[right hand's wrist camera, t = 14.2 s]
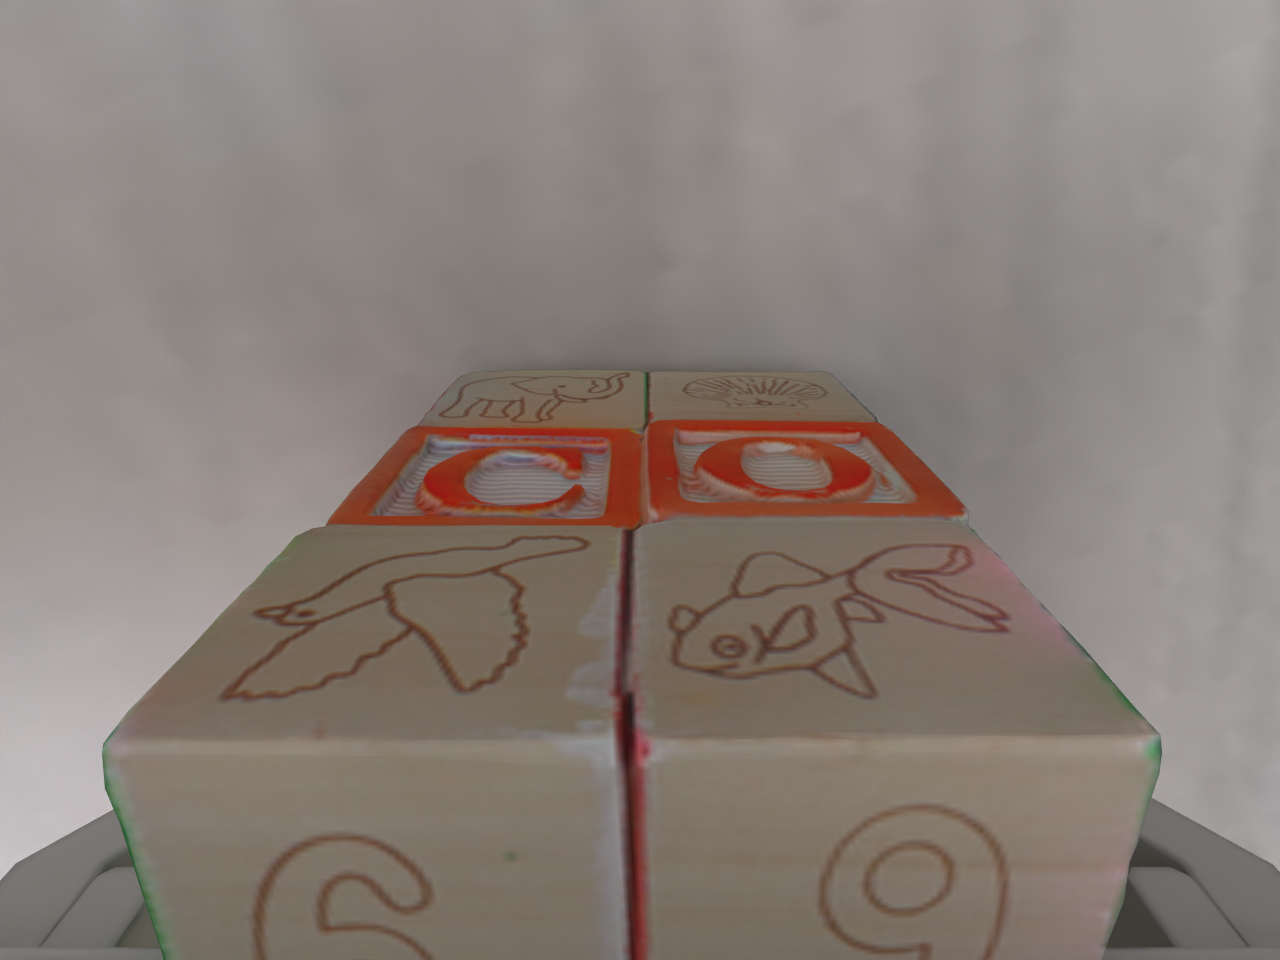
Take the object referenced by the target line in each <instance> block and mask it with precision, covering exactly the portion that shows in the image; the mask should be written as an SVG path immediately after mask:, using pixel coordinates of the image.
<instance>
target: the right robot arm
mask: <svg viewBox="0 0 1280 960" xmlns="http://www.w3.org/2000/svg"><path fill="white" fill-rule="evenodd" d="M0 960H164V959H163V955H162V952H161V948H160V945H159V942H158V939H157V936H156V933H155V930H154V927H153V924H152V921H151V918H150V915H149V912H148V909H147V906H146V903H145V900H144V897H143V894H142V891H141V888H140V885H139V882H138V879H137V876H136V873H135V870H134V866H133V863H132V860H131V857H130V854H129V851H128V848H127V844H126V841H125V838H124V835H123V832H122V829H121V826H120V823H119V820H118V818H117V816H116V813H115V811H114V810H112V811H110V812H108V813H106V814H105V815H103V816H101V817H99V818H97V819H96V820H94V821H92V822H90V823H88V824H87V825H85V826H83V827H81V828H79V829H77V830H76V831H74V832H72V833H70V834H68V835H67V836H65V837H63V838H61V839H59V840H58V841H56V842H54V843H52V844H50V845H49V846H47V847H45V848H43V849H41V850H39V851H38V852H36V853H34V854H32V855H30V856H29V857H27V858H25V859H23V860H21V861H20V862H18V863H16V864H15V865H14V866H13V867H12V868H11V870H10V871H9V872H8V873H7V874H6V875H5V876H4V877H3V878H2V879H1V880H0ZM1102 960H1280V872H1279V871H1278V870H1277V869H1276V868H1275V866H1274V865H1272V864H1271V863H1269V862H1267V861H1265V860H1263V859H1262V858H1260V857H1258V856H1256V855H1254V854H1253V853H1251V852H1249V851H1247V850H1245V849H1243V848H1242V847H1240V846H1238V845H1236V844H1234V843H1233V842H1231V841H1229V840H1227V839H1225V838H1223V837H1222V836H1220V835H1218V834H1216V833H1214V832H1213V831H1211V830H1209V829H1207V828H1205V827H1204V826H1202V825H1200V824H1198V823H1196V822H1194V821H1193V820H1191V819H1189V818H1187V817H1185V816H1184V815H1182V814H1180V813H1178V812H1176V811H1174V810H1173V809H1171V808H1169V807H1167V806H1165V805H1164V804H1162V803H1160V802H1158V801H1156V800H1154V799H1153V798H1151V800H1150V803H1149V806H1148V809H1147V813H1146V816H1145V819H1144V823H1143V826H1142V830H1141V833H1140V836H1139V840H1138V843H1137V846H1136V848H1135V850H1134V853H1133V855H1132V857H1131V859H1130V862H1129V869H1128V876H1127V883H1126V890H1125V897H1124V902H1123V905H1122V907H1121V910H1120V912H1119V915H1118V918H1117V920H1116V923H1115V925H1114V928H1113V930H1112V933H1111V935H1110V938H1109V941H1108V943H1107V946H1106V949H1105V952H1104V955H1103V959H1102Z"/></svg>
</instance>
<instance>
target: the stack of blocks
mask: <svg viewBox="0 0 1280 960" xmlns="http://www.w3.org/2000/svg"><path fill="white" fill-rule="evenodd" d="M968 520H969V511H968V510H967V508H966V507H965V506H964V505H963V503H962V502H961V501H960V500H959V499H958V498H957V497H956V496H955V495H954V494H953V492H952V491H951V490H950V489H949V488H948V487H947V486H946V485H945V484H944V483H943V482H942V481H941V480H940V479H939V478H938V477H937V476H936V475H935V474H934V473H933V472H932V471H931V470H930V469H929V468H928V467H927V466H926V465H925V463H924V462H923V461H922V460H921V459H920V458H919V457H918V456H916V455H915V454H914V453H913V452H912V451H911V450H910V449H909V448H908V447H907V446H906V445H905V444H904V443H903V442H902V441H901V440H900V439H899V438H898V437H897V436H896V435H895V434H894V433H893V432H892V431H891V430H890V429H889V428H887V427H885V426H883V425H882V424H880V423H878V421H877V418H876V417H875V416H874V415H873V414H872V413H871V412H870V411H869V410H868V409H867V408H866V407H864V406H863V405H862V404H861V403H860V402H859V401H858V400H857V399H856V398H855V396H854V395H853V394H852V393H850V392H849V391H848V390H847V389H846V388H845V387H844V386H843V385H842V384H841V383H840V382H839V381H838V380H837V379H836V378H835V377H834V376H833V375H832V374H830V373H827V372H824V371H822V372H652V373H647V372H641V371H629V370H515V371H493V372H477V373H468V374H466V375H463V376H461V377H459V378H458V379H457V380H456V381H455V382H454V383H453V384H452V385H451V386H450V387H449V388H448V389H447V390H446V391H445V392H444V394H443V395H442V396H441V397H440V398H439V399H438V400H437V402H436V403H435V404H434V406H433V407H432V408H431V410H430V411H429V412H428V413H427V414H426V415H425V417H424V418H423V420H422V421H421V422H420V423H419V424H418V426H415V427H413V428H411V429H408V430H407V431H406V432H405V433H403V434H402V435H401V436H400V438H399V439H398V440H397V442H396V443H395V444H394V445H393V446H392V447H391V448H390V449H389V450H388V451H387V452H386V453H385V455H384V456H383V457H382V458H381V460H380V461H379V462H378V463H377V464H376V466H375V467H374V468H373V469H372V470H371V471H370V472H369V473H368V474H367V475H366V476H365V477H364V478H363V479H362V480H361V481H360V482H359V483H358V485H357V486H356V487H355V488H354V489H353V490H352V491H351V492H350V494H349V495H348V496H347V497H346V499H345V500H344V501H343V502H342V504H341V505H340V506H339V507H338V509H337V510H336V511H335V512H334V514H333V515H332V516H331V517H330V519H329V521H328V523H327V524H326V526H325V527H319V528H313V529H310V530H308V531H306V532H304V533H302V534H300V535H298V536H296V537H295V538H294V539H293V540H292V541H291V542H290V544H289V545H288V546H287V547H286V548H285V549H284V551H283V552H282V553H281V554H280V555H279V556H278V557H277V558H275V559H274V560H273V561H272V562H271V563H270V564H269V565H268V566H267V567H266V568H265V569H264V571H263V572H262V573H261V574H260V575H259V577H258V578H257V579H256V580H255V581H254V582H253V583H252V584H251V585H250V586H249V587H248V588H246V589H245V590H244V591H243V592H242V593H241V594H240V596H239V597H238V598H237V599H236V600H235V601H234V602H233V603H232V604H231V605H230V606H229V607H228V608H227V609H226V610H225V611H224V612H223V613H222V614H221V615H220V616H219V617H218V618H217V619H216V620H215V621H214V623H213V624H212V625H211V626H210V627H209V628H208V629H207V630H206V631H205V633H204V634H203V635H202V636H201V637H200V638H199V639H198V640H197V641H196V642H195V644H194V645H193V646H192V647H191V648H190V649H189V650H188V651H187V652H186V653H185V654H184V655H183V656H182V657H181V658H180V659H179V660H178V661H177V662H176V663H175V664H174V665H173V666H172V667H171V668H170V669H169V670H168V671H167V672H166V673H165V674H164V675H163V676H162V677H161V678H160V679H159V680H158V681H157V682H156V683H155V685H154V686H153V687H152V688H151V689H150V690H149V691H148V692H147V693H146V694H145V695H144V696H143V697H142V698H141V699H140V700H139V701H138V702H137V703H136V704H135V705H134V706H133V707H132V708H131V709H130V710H129V711H128V712H127V714H126V715H125V716H124V718H123V719H122V720H121V721H120V723H119V724H118V725H117V727H116V728H115V729H114V730H113V732H112V733H111V734H110V736H109V737H108V738H107V740H106V741H105V742H104V745H103V752H102V757H103V770H104V782H105V790H106V792H107V794H108V797H109V799H110V801H111V804H112V806H113V808H114V811H115V813H116V816H117V818H118V820H119V823H120V826H121V829H122V832H123V835H124V838H125V841H126V844H127V848H128V851H129V854H130V857H131V860H132V863H133V866H134V870H135V873H136V876H137V879H138V882H139V885H140V888H141V891H142V894H143V897H144V900H145V903H146V906H147V909H148V912H149V915H150V918H151V921H152V924H153V927H154V930H155V933H156V936H157V939H158V942H159V945H160V948H161V952H162V955H163V959H164V960H1102V959H1103V955H1104V952H1105V949H1106V946H1107V943H1108V941H1109V938H1110V935H1111V933H1112V930H1113V928H1114V925H1115V923H1116V920H1117V918H1118V915H1119V912H1120V910H1121V907H1122V905H1123V902H1124V897H1125V890H1126V883H1127V876H1128V869H1129V862H1130V859H1131V857H1132V855H1133V853H1134V850H1135V848H1136V846H1137V843H1138V840H1139V836H1140V833H1141V830H1142V826H1143V823H1144V819H1145V816H1146V813H1147V809H1148V806H1149V803H1150V800H1151V797H1152V794H1153V791H1154V788H1155V785H1156V782H1157V779H1158V776H1159V771H1160V763H1161V755H1162V749H1161V737H1160V734H1159V733H1158V732H1157V731H1156V730H1155V728H1154V727H1153V726H1152V725H1151V724H1150V723H1149V722H1148V721H1147V720H1146V719H1145V718H1144V717H1143V716H1142V715H1141V714H1140V712H1139V711H1138V710H1137V709H1136V708H1135V707H1134V706H1133V705H1132V704H1131V703H1130V701H1129V700H1128V699H1127V698H1126V697H1125V696H1124V694H1123V693H1122V692H1121V691H1120V690H1119V689H1118V687H1117V686H1116V685H1115V684H1114V683H1113V682H1112V681H1111V679H1110V678H1109V677H1108V676H1107V675H1106V674H1105V672H1104V671H1103V670H1102V669H1101V668H1100V667H1099V665H1098V664H1097V663H1096V662H1095V661H1094V660H1093V658H1092V657H1091V656H1090V655H1089V654H1088V653H1087V651H1086V650H1085V649H1084V648H1083V647H1082V646H1081V645H1080V644H1079V643H1078V642H1077V641H1076V640H1075V638H1074V637H1073V636H1072V635H1071V634H1070V633H1069V632H1068V631H1067V630H1066V629H1065V628H1064V627H1063V626H1062V625H1061V624H1060V622H1059V621H1058V620H1057V619H1056V618H1055V617H1054V616H1053V615H1052V614H1051V613H1050V612H1049V611H1048V610H1047V609H1046V608H1045V607H1044V606H1043V605H1042V604H1041V603H1040V601H1039V600H1038V599H1037V598H1036V597H1035V596H1034V595H1033V594H1032V593H1031V592H1030V591H1029V590H1028V589H1027V588H1026V587H1025V586H1024V585H1023V584H1022V583H1021V581H1020V580H1019V579H1018V578H1017V576H1016V575H1015V574H1014V573H1013V572H1012V570H1011V569H1010V568H1009V567H1008V565H1007V564H1006V563H1005V562H1004V561H1003V560H1002V559H1001V558H1000V557H999V556H998V555H997V554H996V553H995V551H994V550H993V549H992V548H991V547H990V546H988V545H987V544H986V543H985V542H984V541H983V540H982V539H980V538H979V536H978V535H977V533H976V532H975V531H974V530H973V529H972V528H971V527H969V526H968Z"/></svg>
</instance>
